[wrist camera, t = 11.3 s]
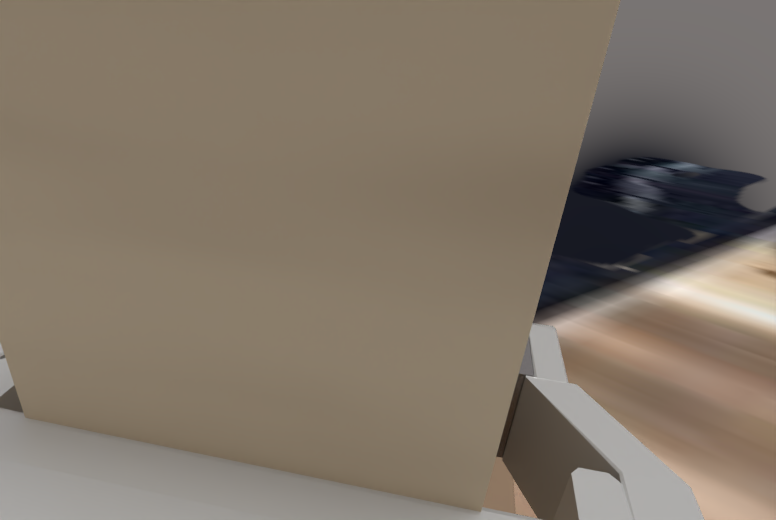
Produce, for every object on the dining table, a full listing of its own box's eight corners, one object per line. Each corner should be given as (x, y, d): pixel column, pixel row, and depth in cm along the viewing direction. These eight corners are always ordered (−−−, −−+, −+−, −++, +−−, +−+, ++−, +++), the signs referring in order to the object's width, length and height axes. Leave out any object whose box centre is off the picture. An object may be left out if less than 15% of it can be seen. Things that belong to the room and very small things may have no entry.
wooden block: (291, 459, 17) (292, -32, 10) (427, 487, 16) (522, -9, 10) (149, 797, 10) (-150, -112, 3) (384, 863, 9) (632, -39, 3)
